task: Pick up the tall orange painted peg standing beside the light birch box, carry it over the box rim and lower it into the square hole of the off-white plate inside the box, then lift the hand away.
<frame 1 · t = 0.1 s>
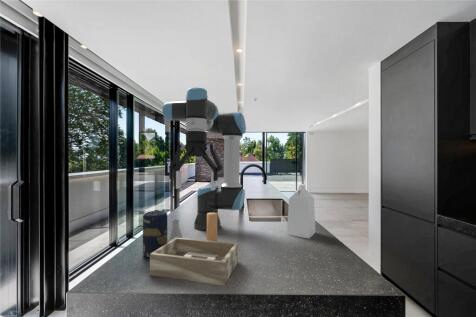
hand: (195, 189, 91), 28 cm above the worktop, tool pointing down, fingers open, 13 cm apart
flask: (175, 241, 117), on the worktop
peg: (211, 251, 104), on the worktop
canister: (155, 255, 101), on the worktop
open box: (196, 268, 89), on the worktop
milk: (301, 233, 132), on the worktop
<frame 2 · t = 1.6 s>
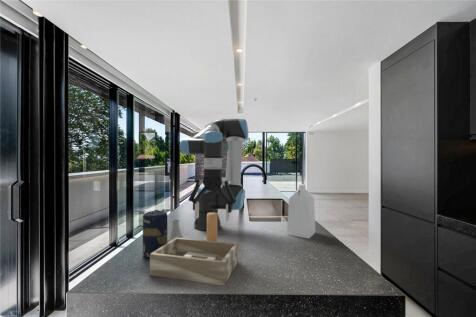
hand: (211, 219, 104), 14 cm above the worktop, tool pointing down, fingers open, 13 cm apart
nothing on the worktop moved.
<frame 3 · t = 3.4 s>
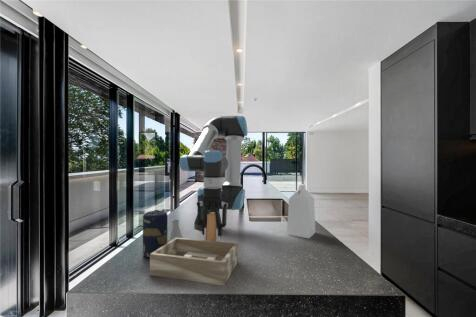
hand: (211, 242, 104), 4 cm above the worktop, tool pointing down, fingers closed on peg, 4 cm apart
peg: (211, 251, 104), on the worktop, touching gripper
everything else where it was.
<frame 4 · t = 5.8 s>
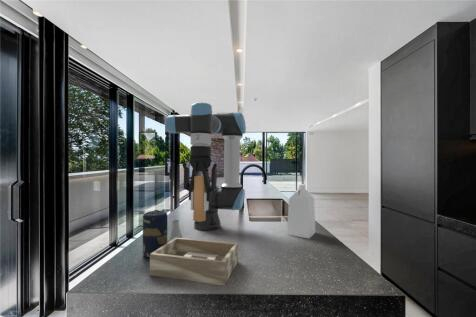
hand: (199, 209, 91), 20 cm above the worktop, tool pointing down, fingers closed on peg, 4 cm apart
peg: (199, 220, 91), point 17 cm above the worktop, touching gripper
everything else where it was.
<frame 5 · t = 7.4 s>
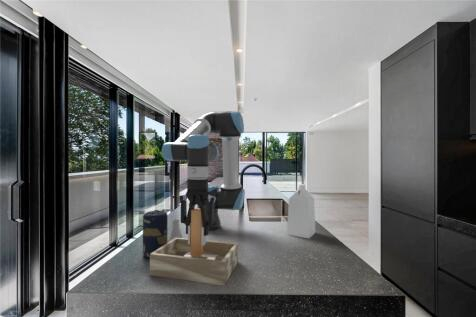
hand: (196, 243, 89), 9 cm above the worktop, tool pointing down, fingers closed on peg, 4 cm apart
peg: (196, 254, 89), point 5 cm above the worktop, touching gripper
everything else where it was.
when the fingers open (5 cm above the worktop, at t = 8.5 s): peg stays where it is, resting in open box.
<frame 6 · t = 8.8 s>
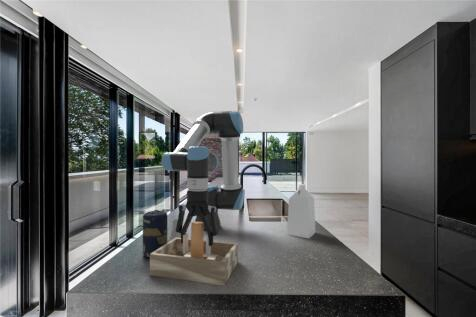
hand: (196, 253, 89), 5 cm above the worktop, tool pointing down, fingers open, 8 cm apart
peg: (196, 267, 89), resting in open box
everything else where it was.
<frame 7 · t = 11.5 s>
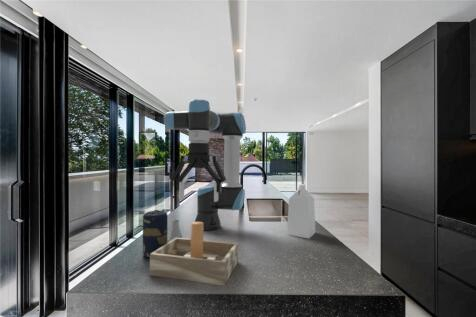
hand: (198, 200, 92), 24 cm above the worktop, tool pointing down, fingers open, 13 cm apart
nothing on the worktop moved.
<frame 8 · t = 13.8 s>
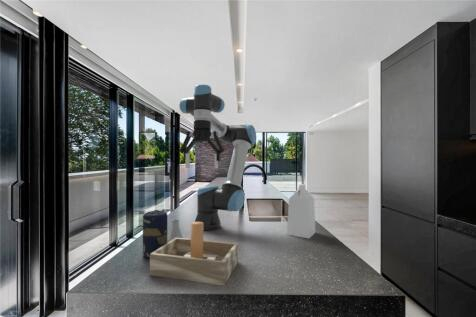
hand: (201, 168, 111), 35 cm above the worktop, tool pointing down, fingers open, 13 cm apart
nothing on the worktop moved.
at the end: peg 0.0 cm off-centre on the open box, point 0.0 cm above the open box's base; peg tilted 0°; the gripper is holding nothing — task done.
